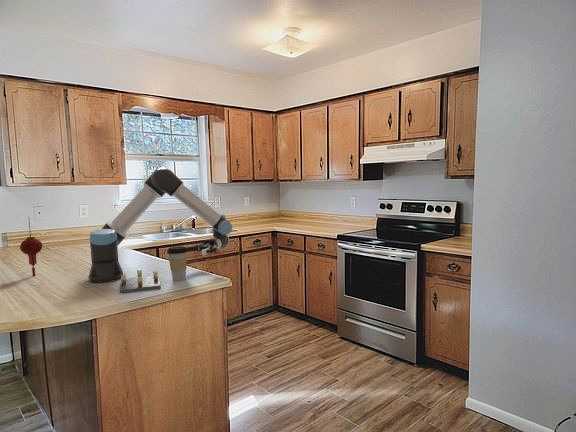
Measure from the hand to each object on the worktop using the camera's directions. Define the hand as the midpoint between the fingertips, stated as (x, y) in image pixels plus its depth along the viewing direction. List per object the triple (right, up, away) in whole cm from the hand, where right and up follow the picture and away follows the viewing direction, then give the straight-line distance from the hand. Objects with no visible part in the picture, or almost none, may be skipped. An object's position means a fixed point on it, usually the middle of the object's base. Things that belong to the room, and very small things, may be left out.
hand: (190, 252), depth 187 cm
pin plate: (-18, -13, -17) cm, 28 cm away
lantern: (-81, -13, +7) cm, 82 cm away
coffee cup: (-3, -12, -8) cm, 15 cm away
